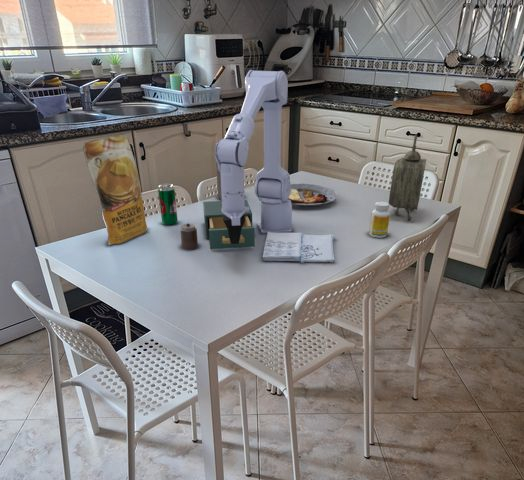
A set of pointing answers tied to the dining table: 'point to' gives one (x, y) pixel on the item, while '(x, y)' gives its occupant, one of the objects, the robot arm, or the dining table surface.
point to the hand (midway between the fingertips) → (234, 242)
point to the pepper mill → (189, 236)
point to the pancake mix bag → (117, 186)
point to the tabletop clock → (407, 181)
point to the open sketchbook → (298, 247)
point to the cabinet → (218, 213)
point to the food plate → (311, 195)
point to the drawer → (221, 235)
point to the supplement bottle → (379, 220)
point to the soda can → (167, 204)
